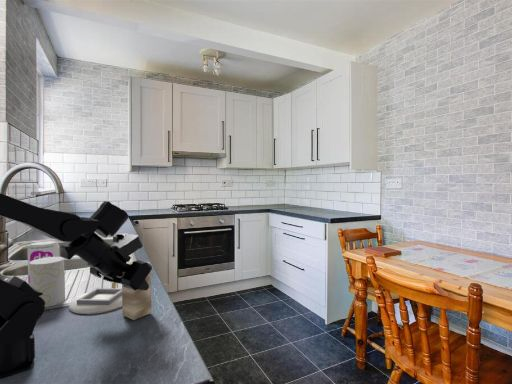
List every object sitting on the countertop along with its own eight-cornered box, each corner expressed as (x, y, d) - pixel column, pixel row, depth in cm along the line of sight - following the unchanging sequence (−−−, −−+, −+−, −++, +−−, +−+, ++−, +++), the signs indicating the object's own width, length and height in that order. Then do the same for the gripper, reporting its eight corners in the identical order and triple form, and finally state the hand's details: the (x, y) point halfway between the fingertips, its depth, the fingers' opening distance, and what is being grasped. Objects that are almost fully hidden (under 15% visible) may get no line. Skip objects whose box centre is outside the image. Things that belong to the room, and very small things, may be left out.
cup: (24, 309, 78) (23, 265, 78) (38, 298, 86) (37, 257, 86) (59, 305, 81) (57, 263, 80) (69, 295, 88) (68, 255, 88)
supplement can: (55, 292, 91) (53, 244, 90) (23, 295, 88) (22, 246, 88) (64, 283, 99) (62, 239, 98) (35, 286, 96) (34, 241, 96)
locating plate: (114, 314, 75) (114, 301, 75) (54, 313, 76) (54, 300, 76) (142, 291, 91) (141, 280, 91) (92, 290, 92) (92, 279, 92)
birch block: (133, 320, 71) (132, 267, 71) (122, 315, 74) (121, 264, 74) (151, 312, 75) (150, 262, 75) (140, 308, 78) (139, 260, 78)
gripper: (144, 228, 66) (182, 265, 75) (101, 222, 76) (139, 255, 86) (110, 271, 59) (157, 306, 69) (68, 258, 70) (114, 290, 79)
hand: (141, 286), depth 76 cm, fingers closed on birch block, 5 cm apart
